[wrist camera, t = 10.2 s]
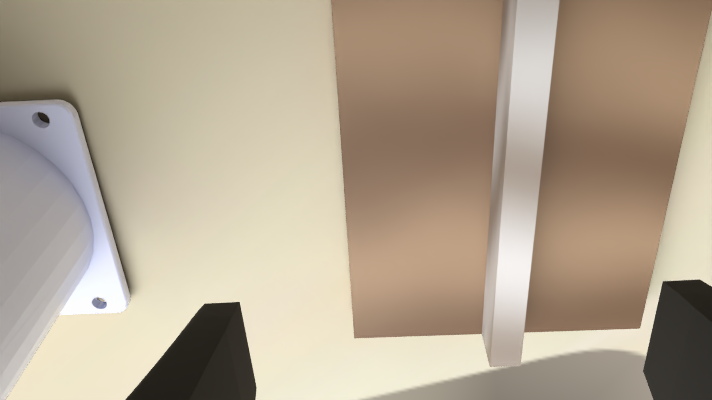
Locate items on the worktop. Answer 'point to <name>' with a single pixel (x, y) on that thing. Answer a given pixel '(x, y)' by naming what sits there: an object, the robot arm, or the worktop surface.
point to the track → (509, 160)
